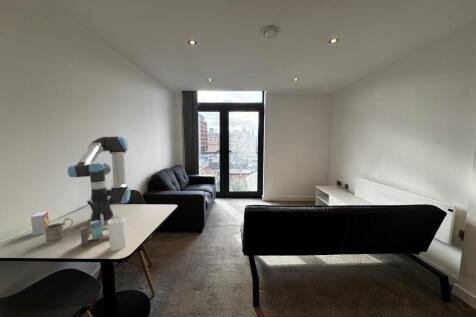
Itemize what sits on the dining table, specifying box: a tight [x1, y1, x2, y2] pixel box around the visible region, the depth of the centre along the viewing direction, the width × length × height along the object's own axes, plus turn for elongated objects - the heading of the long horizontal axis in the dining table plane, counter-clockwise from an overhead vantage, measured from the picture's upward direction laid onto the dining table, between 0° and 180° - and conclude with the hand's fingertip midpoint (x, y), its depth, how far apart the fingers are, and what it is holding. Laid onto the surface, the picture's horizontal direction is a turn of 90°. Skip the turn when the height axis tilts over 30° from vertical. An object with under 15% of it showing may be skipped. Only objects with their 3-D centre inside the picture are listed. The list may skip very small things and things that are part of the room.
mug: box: [44, 217, 74, 246], centre depth 128 cm, size 14×10×12 cm
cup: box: [107, 217, 127, 251], centre depth 118 cm, size 8×8×16 cm
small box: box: [30, 211, 50, 237], centre depth 139 cm, size 8×6×13 cm
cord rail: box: [79, 225, 109, 248], centre depth 126 cm, size 7×19×10 cm, turn 130°
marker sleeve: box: [89, 220, 104, 240], centre depth 125 cm, size 7×5×9 cm
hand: (102, 224), depth 127 cm, fingers closed
